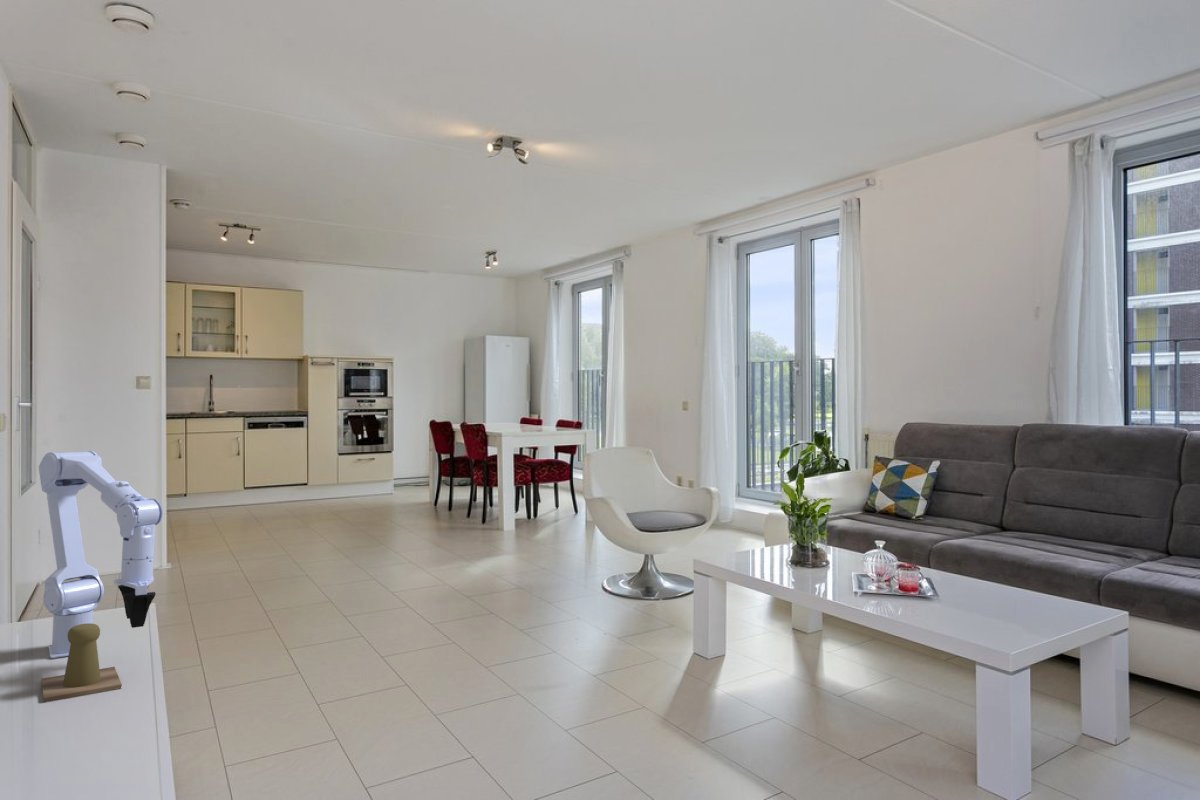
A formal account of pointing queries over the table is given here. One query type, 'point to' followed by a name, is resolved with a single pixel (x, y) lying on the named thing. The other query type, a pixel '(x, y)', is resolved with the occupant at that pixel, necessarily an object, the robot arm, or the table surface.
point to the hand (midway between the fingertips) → (135, 622)
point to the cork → (82, 656)
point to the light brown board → (57, 691)
